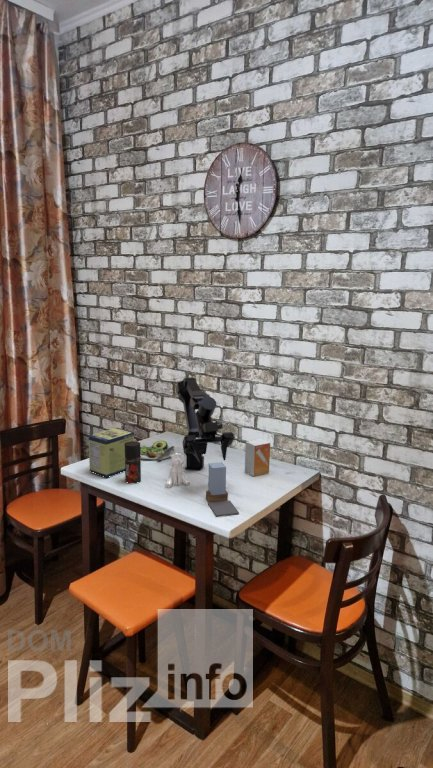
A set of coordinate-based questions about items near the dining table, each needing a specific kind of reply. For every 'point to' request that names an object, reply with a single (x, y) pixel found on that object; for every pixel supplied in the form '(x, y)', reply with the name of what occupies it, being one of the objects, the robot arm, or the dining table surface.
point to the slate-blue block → (217, 478)
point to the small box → (257, 457)
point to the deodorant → (132, 462)
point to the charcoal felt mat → (223, 508)
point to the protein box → (108, 451)
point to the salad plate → (157, 451)
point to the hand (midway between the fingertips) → (212, 461)
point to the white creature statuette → (177, 472)
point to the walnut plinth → (216, 497)
